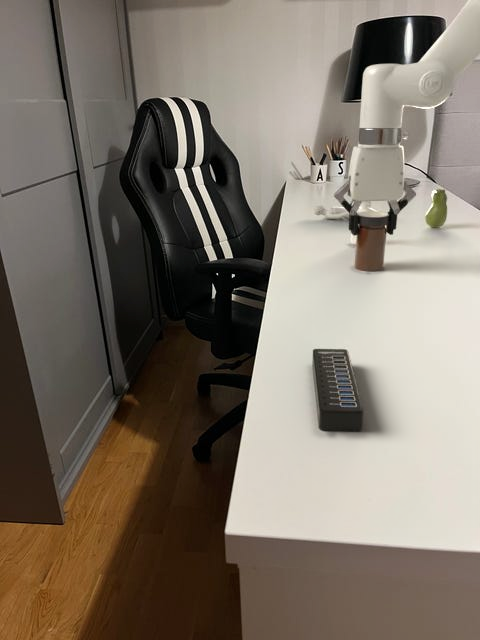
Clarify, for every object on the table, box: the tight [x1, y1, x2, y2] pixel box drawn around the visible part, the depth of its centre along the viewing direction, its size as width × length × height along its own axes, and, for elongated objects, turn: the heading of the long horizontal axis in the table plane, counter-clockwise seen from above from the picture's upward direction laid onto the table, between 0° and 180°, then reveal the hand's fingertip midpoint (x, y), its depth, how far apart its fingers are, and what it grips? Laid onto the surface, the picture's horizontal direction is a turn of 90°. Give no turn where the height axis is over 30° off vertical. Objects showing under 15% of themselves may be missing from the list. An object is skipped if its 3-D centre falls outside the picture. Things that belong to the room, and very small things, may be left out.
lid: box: [357, 210, 389, 227], centre depth 99 cm, size 6×6×2 cm
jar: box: [353, 225, 388, 272], centre depth 101 cm, size 6×6×10 cm
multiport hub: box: [311, 348, 364, 433], centre depth 57 cm, size 4×14×2 cm, turn 175°
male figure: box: [313, 205, 360, 220], centre depth 145 cm, size 10×4×22 cm
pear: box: [424, 188, 448, 228], centre depth 133 cm, size 6×5×10 cm
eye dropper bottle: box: [350, 201, 376, 246], centre depth 118 cm, size 4×6×12 cm
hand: (371, 232), depth 100 cm, fingers open, 6 cm apart
